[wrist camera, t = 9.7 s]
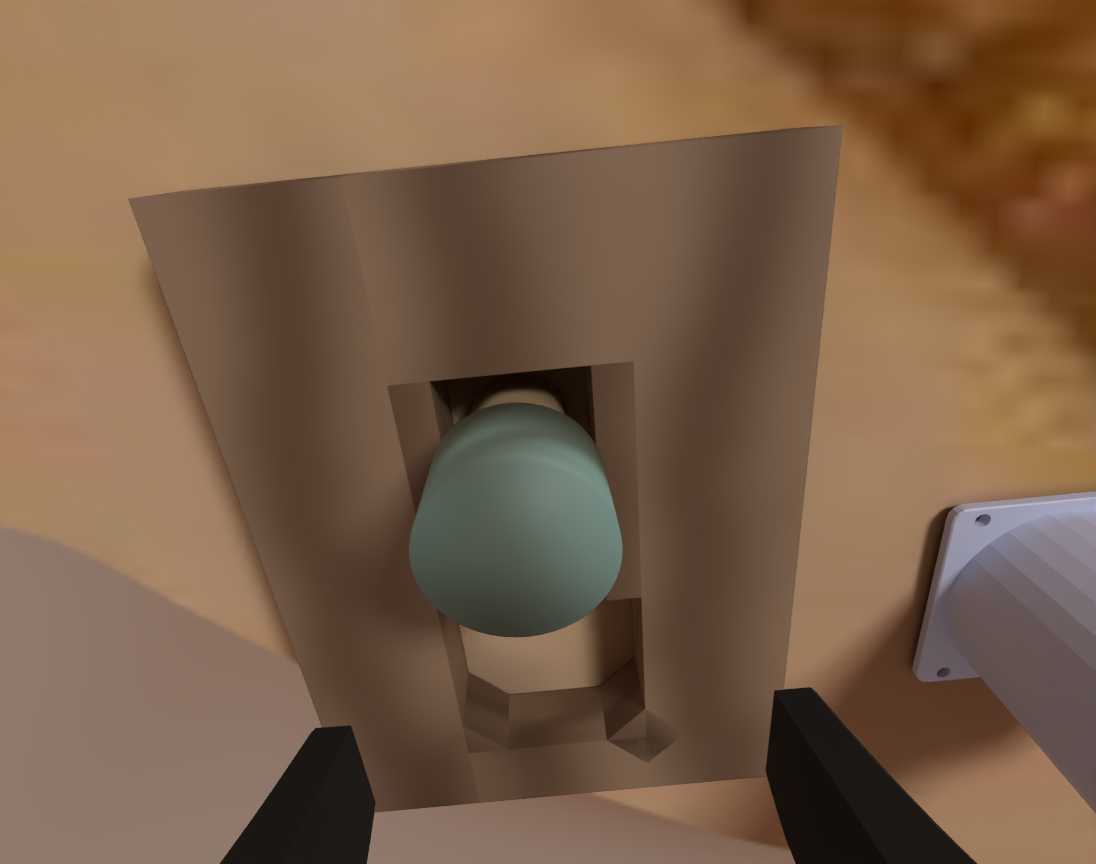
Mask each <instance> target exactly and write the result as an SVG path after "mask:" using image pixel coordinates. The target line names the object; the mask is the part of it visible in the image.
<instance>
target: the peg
mask: <svg viewBox="0 0 1096 864" xmlns="http://www.w3.org/2000/svg"><path fill="white" fill-rule="evenodd" d="M409 558H410V564H411V569H412V572H413V575H414V578H415V580H416V582H417V584H418V586H419V588H420V589H421V591H422V592H423V594H424V595H425V597H426V598H427V599H428V600H429V601H430V602H431V603H432V605H433V606H434V607H435V608H437V609H438V610H439V611H440V612H441V613H443V614H444V615H445V616H447V617H448V618H450V619H451V620H453V621H454V622H456V623H458V624H460V625H462V626H464V627H467V628H469V629H472V630H475V631H478V632H481V633H485V634H489V635H496V636H502V637H529V636H535V635H542V634H545V633H549V632H553V631H556V630H559V629H561V628H564V627H567V626H569V625H571V624H573V623H574V622H576V621H578V620H580V619H581V618H583V617H584V616H586V615H587V614H588V613H590V612H591V611H592V610H593V609H594V608H596V607H597V606H598V605H599V604H600V603H601V601H602V600H603V599H604V598H605V597H606V595H607V594H608V593H609V591H610V590H611V588H612V586H613V584H614V582H615V581H616V579H617V576H618V573H619V570H620V566H621V561H622V539H621V533H620V528H619V524H618V520H617V516H616V512H615V508H614V504H613V500H612V496H611V492H610V488H609V484H608V480H607V476H606V472H605V468H604V464H603V460H602V457H601V454H600V452H599V450H598V448H597V446H596V444H595V442H594V441H593V439H592V438H591V436H590V435H589V434H588V433H587V432H586V431H585V430H584V428H583V427H581V426H580V425H579V424H578V423H577V422H575V421H574V420H573V419H571V418H570V417H568V415H567V409H566V405H565V402H564V400H563V398H562V396H561V394H560V393H559V391H558V390H557V389H556V388H555V387H554V386H553V385H552V384H551V383H549V382H548V381H546V380H545V379H543V378H541V377H539V376H536V375H533V374H528V373H510V374H505V375H502V376H499V377H497V378H495V379H493V380H491V381H490V382H488V383H487V384H486V385H485V386H484V387H483V388H482V389H481V390H480V391H479V393H478V394H477V396H476V398H475V400H474V402H473V405H472V409H471V414H470V415H468V416H467V417H465V418H463V419H462V420H461V421H459V422H458V423H457V424H456V425H454V426H453V427H452V428H451V429H450V430H449V432H448V433H447V434H446V435H445V436H444V438H443V439H442V440H441V442H440V443H439V445H438V447H437V449H436V451H435V454H434V457H433V460H432V463H431V466H430V470H429V473H428V477H427V480H426V483H425V487H424V490H423V494H422V497H421V501H420V504H419V507H418V511H417V514H416V518H415V521H414V525H413V528H412V532H411V537H410V543H409Z"/></svg>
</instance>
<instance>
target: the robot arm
mask: <svg viewBox="0 0 1096 864" xmlns="http://www.w3.org/2000/svg"><path fill="white" fill-rule="evenodd" d="M980 515H982V516H981V517H980V518H979V519H977V520H976V518H977V517H979V516H980ZM912 670H913V673H914V674H915V675H916V677H917V678H918V679H919V680H920V681H922V682H935V681H946V680H957V679H967V678H978V677H980V678H981V679H982V680H983V681H984V682H985V684H986V685H987V686H988V687H989V688H990V689H991V691H992V692H993V693H994V694H995V695H996V697H997V698H998V699H999V700H1000V701H1001V702H1002V704H1003V705H1004V706H1005V707H1006V708H1007V709H1008V711H1009V712H1010V713H1011V714H1012V715H1013V717H1014V718H1015V719H1016V720H1017V721H1018V722H1019V724H1020V725H1021V726H1022V727H1023V728H1024V730H1025V731H1026V732H1027V733H1028V734H1029V735H1030V737H1031V738H1032V739H1033V740H1034V741H1035V742H1036V744H1037V745H1038V746H1039V747H1040V748H1041V750H1042V751H1043V752H1044V753H1045V754H1046V755H1047V757H1048V758H1049V759H1050V760H1051V761H1052V763H1053V764H1054V765H1055V766H1056V767H1057V768H1058V770H1059V771H1060V772H1061V773H1062V774H1063V775H1064V777H1065V778H1066V779H1067V780H1068V781H1069V783H1070V784H1071V785H1072V786H1073V787H1074V788H1075V790H1076V791H1077V792H1078V793H1079V794H1080V796H1081V797H1082V798H1083V799H1084V800H1085V801H1086V803H1087V804H1088V805H1089V806H1090V807H1091V809H1092V810H1093V811H1094V812H1095V813H1096V491H1094V492H1084V493H1073V494H1063V495H1052V496H1042V497H1032V498H1021V499H1011V500H1000V501H990V502H980V503H969V504H962V505H958V506H956V507H955V508H953V509H952V510H951V511H950V512H949V513H948V516H947V518H946V522H945V526H944V531H943V535H942V540H941V544H940V548H939V553H938V557H937V562H936V566H935V570H934V575H933V579H932V584H931V588H930V592H929V597H928V601H927V606H926V610H925V614H924V619H923V623H922V628H921V632H920V636H919V641H918V645H917V650H916V654H915V659H914V663H913V667H912ZM766 774H767V778H768V781H769V785H770V788H771V791H772V795H773V798H774V802H775V805H776V809H777V812H778V815H779V818H780V821H781V825H782V828H783V831H784V834H785V838H786V840H787V843H788V845H789V848H790V850H791V853H792V855H793V858H794V860H795V863H796V864H977V863H976V862H975V861H974V860H973V859H972V858H971V857H970V856H969V855H968V854H967V853H966V852H965V851H964V850H962V849H961V848H960V847H959V846H958V845H957V844H956V843H955V842H954V841H953V840H952V839H951V838H950V837H949V836H948V835H947V834H946V833H945V832H944V831H943V830H942V829H941V828H940V827H939V826H938V825H937V824H936V823H935V822H934V821H933V820H932V819H931V817H930V816H929V815H928V814H927V813H926V812H925V811H924V810H923V809H922V808H921V807H920V806H919V805H918V804H917V803H916V802H915V801H914V800H913V799H912V798H911V797H910V796H909V795H908V794H907V793H906V792H905V790H904V789H903V788H902V787H901V786H900V785H899V784H898V783H897V782H896V781H895V780H894V779H893V778H892V777H891V776H890V775H889V774H888V773H887V771H886V770H885V769H884V768H883V767H882V766H881V765H880V764H879V763H878V762H877V761H876V759H875V758H874V757H873V756H872V755H871V754H870V753H869V752H868V751H867V750H866V748H865V747H864V746H863V745H862V744H861V743H860V742H859V741H858V740H857V738H856V737H855V736H854V735H853V734H852V733H851V732H850V731H849V729H848V728H847V727H846V726H845V725H844V724H843V723H842V721H841V720H840V719H839V718H838V717H837V716H836V715H835V713H834V712H833V711H832V710H831V709H830V708H829V706H828V705H827V704H826V703H825V702H824V701H823V700H822V698H821V697H820V696H819V695H818V694H817V693H816V692H815V691H814V690H813V689H812V688H811V687H809V688H797V689H785V690H774V697H773V706H772V716H771V725H770V734H769V743H768V752H767V762H766ZM375 804H376V802H375V799H374V796H373V792H372V789H371V786H370V783H369V780H368V777H367V774H366V770H365V767H364V764H363V761H362V758H361V755H360V752H359V749H358V745H357V742H356V739H355V736H354V733H353V730H352V727H351V725H347V726H335V727H323V728H315V729H314V731H312V733H311V734H310V735H309V737H308V738H307V740H306V741H305V743H304V744H303V746H302V747H301V749H300V750H299V751H298V753H297V754H296V756H295V757H294V759H293V760H292V762H291V763H290V765H289V766H288V768H287V769H286V771H285V772H284V774H283V775H282V777H281V778H280V780H279V781H278V783H277V784H276V785H275V787H274V788H273V790H272V792H271V793H270V794H269V796H268V797H267V799H266V800H265V802H264V803H263V804H262V806H261V807H260V809H259V810H258V811H257V813H256V814H255V816H254V817H253V819H252V820H251V821H250V823H249V824H248V826H247V827H246V828H245V830H244V831H243V832H242V834H241V835H240V837H239V838H238V839H237V841H236V842H235V844H234V845H233V846H232V848H231V849H230V850H229V852H228V853H227V855H226V856H225V857H224V859H223V860H222V861H221V863H220V864H367V858H368V852H369V845H370V838H371V832H372V825H373V818H374V811H375Z"/></svg>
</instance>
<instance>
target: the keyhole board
mask: <svg viewBox="0 0 1096 864" xmlns="http://www.w3.org/2000/svg"><path fill="white" fill-rule="evenodd" d="M842 127H843V126H824V127H804V128H792V129H782V130H772V131H762V132H753V133H743V134H733V135H724V136H714V137H704V138H694V139H685V140H675V141H665V142H655V143H646V144H636V145H626V146H616V147H607V148H597V149H587V150H578V151H568V152H558V153H548V154H539V155H529V156H519V157H509V158H500V159H490V160H480V161H471V162H461V163H451V164H441V165H432V166H422V167H412V168H402V169H393V170H383V171H373V172H364V173H354V174H344V175H334V176H325V177H315V178H305V179H295V180H286V181H276V182H266V183H257V184H247V185H237V186H227V187H218V188H208V189H198V190H188V191H180V192H173V193H166V194H159V195H152V196H145V197H138V198H131V199H128V200H129V202H130V205H131V208H132V211H133V213H134V216H135V219H136V222H137V224H138V227H139V230H140V232H141V235H142V238H143V241H144V243H145V246H146V249H147V251H148V254H149V257H150V260H151V262H152V265H153V268H154V271H155V273H156V276H157V279H158V281H159V284H160V287H161V290H162V292H163V295H164V298H165V301H166V303H167V306H168V309H169V311H170V314H171V317H172V320H173V322H174V325H175V328H176V330H177V333H178V336H179V339H180V341H181V344H182V347H183V350H184V352H185V355H186V358H187V360H188V363H189V366H190V369H191V371H192V374H193V377H194V380H195V382H196V385H197V388H198V390H199V393H200V396H201V399H202V401H203V404H204V407H205V410H206V412H207V415H208V418H209V420H210V423H211V426H212V429H213V431H214V434H215V437H216V439H217V442H218V445H219V448H220V450H221V453H222V456H223V459H224V461H225V464H226V467H227V469H228V472H229V475H230V478H231V480H232V483H233V486H234V489H235V491H236V494H237V497H238V499H239V502H240V505H241V508H242V510H243V513H244V516H245V518H246V521H247V524H248V527H249V529H250V532H251V535H252V538H253V540H254V543H255V546H256V548H257V551H258V554H259V557H260V559H261V562H262V565H263V568H264V570H265V573H266V576H267V578H268V581H269V584H270V587H271V589H272V592H273V595H274V597H275V600H276V603H277V606H278V608H279V611H280V614H281V617H282V619H283V622H284V625H285V627H286V630H287V633H288V636H289V638H290V641H291V644H292V647H293V649H294V652H295V655H296V657H297V660H298V663H299V666H300V668H301V671H302V674H303V676H304V679H305V682H306V684H307V687H308V690H309V693H310V695H311V698H312V701H313V704H314V706H315V709H316V712H317V714H318V717H319V720H320V723H321V725H322V728H323V727H335V726H347V725H351V727H352V730H353V733H354V736H355V739H356V742H357V745H358V749H359V752H360V755H361V758H362V761H363V764H364V767H365V770H366V774H367V777H368V780H369V783H370V786H371V789H372V792H373V796H374V799H375V802H376V804H375V811H374V812H384V811H395V810H405V809H417V808H428V807H438V806H449V805H460V804H471V803H482V802H492V801H504V800H514V799H525V798H536V797H547V796H558V795H569V794H580V793H591V792H602V791H613V790H623V789H634V788H645V787H656V786H667V785H678V784H689V783H700V782H710V781H721V780H732V779H743V778H754V777H765V776H767V774H766V762H767V752H768V743H769V734H770V725H771V716H772V706H773V697H774V690H784V683H785V673H786V664H787V654H788V644H789V635H790V625H791V616H792V606H793V596H794V587H795V577H796V568H797V558H798V549H799V539H800V529H801V520H802V510H803V501H804V491H805V482H806V472H807V462H808V453H809V443H810V434H811V424H812V415H813V405H814V395H815V386H816V376H817V367H818V357H819V348H820V338H821V328H822V319H823V309H824V300H825V290H826V281H827V271H828V261H829V252H830V242H831V233H832V223H833V214H834V204H835V194H836V185H837V175H838V166H839V156H840V147H841V137H842ZM579 366H585V371H586V385H587V399H588V414H589V428H590V436H591V438H592V439H593V441H594V442H595V444H596V446H597V448H598V450H599V452H600V454H601V457H602V460H603V464H604V468H605V472H606V476H607V480H608V484H609V488H610V492H611V496H612V500H613V504H614V508H615V512H616V516H617V520H618V524H619V528H620V533H621V539H622V561H621V566H620V570H619V573H618V576H617V579H616V581H615V582H614V584H613V586H612V588H611V590H610V591H609V593H608V594H607V595H606V600H607V601H609V600H619V599H630V598H632V615H633V639H634V657H633V658H632V659H631V660H630V661H628V662H627V663H626V664H625V665H624V666H623V667H621V668H620V669H619V670H618V671H617V672H616V673H615V674H613V675H612V676H611V677H610V678H609V679H608V680H606V681H605V682H604V683H603V684H602V685H601V686H598V687H588V688H577V689H566V690H556V691H545V692H534V693H524V694H513V695H509V694H507V693H505V692H503V691H502V690H500V689H498V688H496V687H494V686H493V685H491V684H489V683H487V682H485V681H484V680H482V679H480V678H478V677H476V676H475V675H473V674H471V673H469V672H468V667H467V662H466V658H465V653H464V648H463V643H462V638H461V633H460V628H459V624H458V623H456V622H454V621H453V620H451V619H450V618H448V617H447V616H445V615H444V614H443V613H441V612H440V611H439V610H438V609H437V608H435V607H434V606H433V605H432V603H431V602H430V601H429V600H428V599H427V598H426V597H425V595H424V594H423V592H422V591H421V589H420V588H419V586H418V584H417V582H416V580H415V578H414V575H413V572H412V569H411V564H410V558H409V543H410V537H411V532H412V528H413V525H414V521H415V518H416V514H417V511H418V507H419V504H420V501H421V497H422V494H423V490H424V487H425V483H426V480H427V477H428V473H429V470H430V466H431V463H432V460H433V457H434V454H435V451H436V449H437V447H438V445H439V443H440V442H441V440H442V439H443V438H444V436H445V435H446V434H447V433H448V432H449V430H450V429H451V428H452V427H453V426H454V423H453V418H452V412H451V406H450V401H449V395H448V389H447V384H446V380H448V379H458V378H468V377H478V376H488V375H498V374H509V373H519V372H529V371H539V370H549V369H559V368H569V367H579Z"/></svg>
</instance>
